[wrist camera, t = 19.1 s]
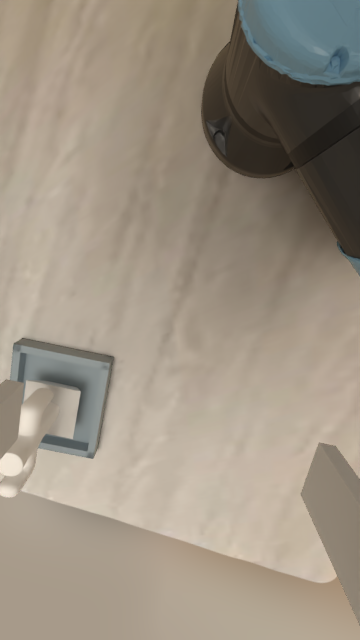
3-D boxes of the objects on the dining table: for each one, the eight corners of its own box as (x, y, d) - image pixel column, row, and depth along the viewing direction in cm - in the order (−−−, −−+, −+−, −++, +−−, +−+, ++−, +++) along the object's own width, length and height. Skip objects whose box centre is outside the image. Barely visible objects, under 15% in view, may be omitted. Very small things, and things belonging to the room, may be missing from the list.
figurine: (89, 373, 47) (47, 432, 33) (79, 431, 50) (35, 511, 35) (39, 362, 47) (-27, 417, 33) (31, 421, 49) (-34, 497, 35)
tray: (22, 338, 47) (13, 343, 45) (113, 357, 47) (109, 363, 45) (12, 431, 50) (3, 441, 48) (97, 448, 51) (93, 458, 49)
